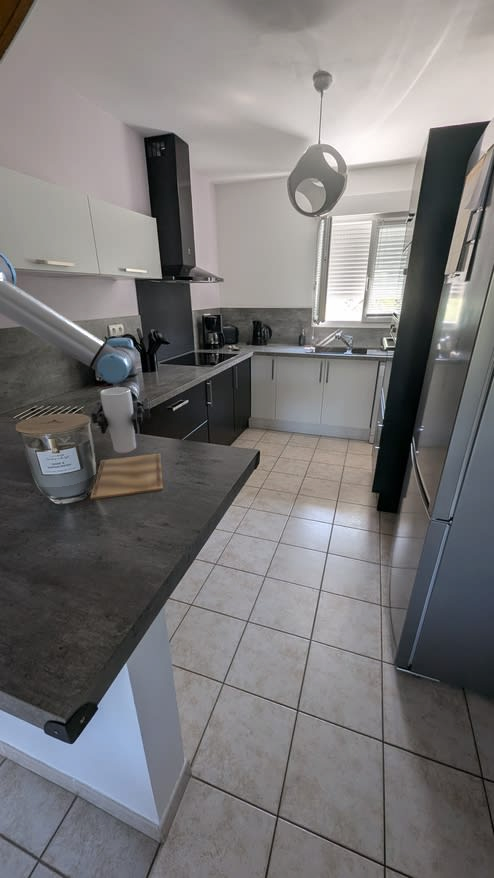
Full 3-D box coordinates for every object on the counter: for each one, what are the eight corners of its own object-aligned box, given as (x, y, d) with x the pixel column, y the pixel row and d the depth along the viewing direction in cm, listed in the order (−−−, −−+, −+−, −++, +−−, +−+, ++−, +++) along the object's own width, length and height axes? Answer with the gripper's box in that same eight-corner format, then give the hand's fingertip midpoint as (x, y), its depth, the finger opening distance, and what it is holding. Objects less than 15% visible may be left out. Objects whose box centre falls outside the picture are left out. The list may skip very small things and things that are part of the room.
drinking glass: (128, 456, 84) (118, 395, 78) (105, 453, 86) (93, 393, 80) (144, 445, 90) (136, 387, 84) (122, 442, 92) (112, 386, 86)
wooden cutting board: (101, 462, 98) (100, 459, 98) (160, 455, 102) (160, 453, 102) (90, 500, 80) (89, 497, 80) (162, 490, 84) (162, 487, 84)
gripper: (161, 408, 105) (164, 436, 84) (91, 414, 101) (76, 446, 80) (158, 383, 102) (160, 406, 81) (86, 388, 98) (69, 414, 77)
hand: (118, 426), depth 81 cm, fingers closed on drinking glass, 6 cm apart
